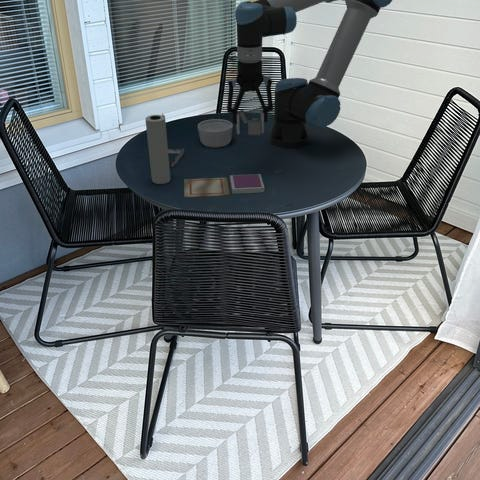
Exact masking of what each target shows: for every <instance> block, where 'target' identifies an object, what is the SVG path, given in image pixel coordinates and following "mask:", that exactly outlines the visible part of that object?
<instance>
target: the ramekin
mask: <svg viewBox="0 0 480 480" xmlns="http://www.w3.org/2000/svg"><path fill="white" fill-rule="evenodd" d="M233 124H234V123H232V122H231V121H229V120H226V119H222V118H221V119H220V118H218V119H217V118H211V119H207V120H203V121H201V122H199V123H198V124H197V131H198V135H199V140H200V142H201V144H202V145H203V146H204V147H208V148H222V147H223V148H224V147H226V146H228V145H229V144H230V143H231V142H232V135H233V130H234V127H233V126H234V125H233Z"/></svg>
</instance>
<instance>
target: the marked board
mask: <svg viewBox="0 0 480 480" xmlns="http://www.w3.org/2000/svg"><path fill="white" fill-rule="evenodd" d="M183 183H184V184H183V187H184V189H183V191H184V192H183V195H184V199H186V198H208V197H210V198H211V197H228V196H231V195H230V188H229V184H228V183H229V182H228V177H210V178H208V177H207V178H187V179H185V178H184V180H183Z"/></svg>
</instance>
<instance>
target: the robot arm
mask: <svg viewBox="0 0 480 480" xmlns="http://www.w3.org/2000/svg"><path fill="white" fill-rule="evenodd" d="M337 1H338V0H254V1H249V0H248V1H247V0H246V1H242V2H240V3H239V4H238V5H237V6H236V9H235V11H234V15H235V21H236V22H235V23H236V53H237V55H236V58H237V67H236V68H237V69H236V70H237V75H236V78H234V79H228V80H227V83H228V84H227V85H228V92H227V105H226V110H227V113H229V114H232V122H233V123H232V124H234V125H236V134H237V135H240V133H241V131H240V114H239V108H240V105H241V103H242V100H243V97H244V95H245V93H246V92H255V93H256V96H257V98H258V101H259V103H260V106H261V108H262V110H260V121H261V134H264V132H265V123H267V122H268V113H269V112H271V111H273V110H274V112H273V115H274V117H273V123H272V125H271V127H270V131H269V133H268V141H269V143H270V144H272V145H274V146H276V147H279V148H280V147H281V148H299V147H303V146H306V145H307V144H308V143H309V136H310V135H309V132H308V127H307V125H309V126H311V127H316V128H321V129H323V128H326V127H328V126H331V124H333V123H334V122H335V121H336V120H337V118H338V116H339V115H340V111H341V101H340V99H339V97H340V96H341V91H340V89H339V88H340V85H341V83H342V81H343V79H344V77H345V74H346V72H347V71H348V68H349V66H350V63H351V62H352V59H353V58H354V55H355V53H356V51H357V49H358V46H359V44H360V42H361V40H362V38H363V35H364V34H365V31H366V30H367V28H368V26H369V23H370V21H371V19H373V18H375V17H377V16H378V15H379V12H380V10H381V8H382V9H383V8H386V7H387V6H389V5H390V4H391V3H392V2H393V0H342V2H343V1H345V2H344V3H345V5H346V10H345V11H344V14H343V17H342V18H341V20H340V24H339V25H338V28H337V30H336V31H335V34H334V36H333V38H332V40H331V43H330V45H329V46H328V47H329V48H328V50H327V52H326V55H325V56H324V58H323V61H322V63H321V65H320V67H319V69H318V72H317V73H316V76H315V77H314V78H312V79H310V80H309V81H308V80H307V78H303V77H302V78H301V77H291V78H290V77H289V78H284V79H281V80H278V81H277V82H276V83H275V88H274V104H273V95H272V88H271V87H272V83H273V80H272V78H271V77H264V76H263V60H262V59H263V39H264V38H266V37H273V36H280V35H283V36H284V35H286V34H290V33H292V32H294V31H295V29H296V27H297V24H298V23H297V22H298V21H297V20H298V19H297V18H298V17H297V12H300V11H303V10H306V9H308V8H310V7H314V6H316V5H319V4H321V3H327V4H330V3H332V2H337ZM262 83H263V84H264V86H265V90H266V97H267V105H266V103H265V101H264V98H263V96H262V92H261V90H260V87H261V85H262ZM236 84H237V85H238V86H239V87H240V88H239V91H238V94H237V97H236V100H235V101H234V102H235V103H234V104H233V99H234V88H235V87H236Z"/></svg>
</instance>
